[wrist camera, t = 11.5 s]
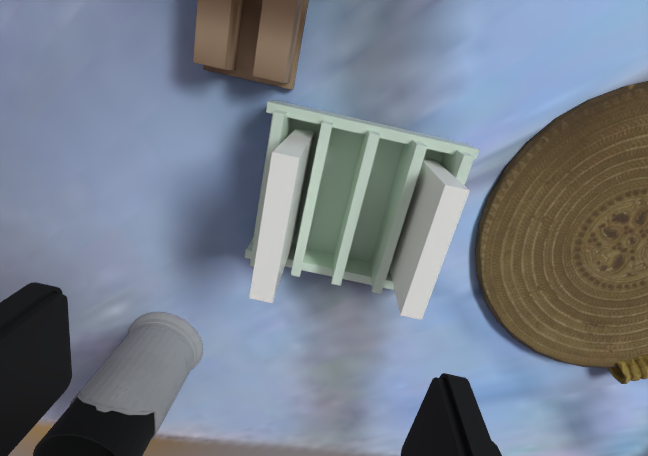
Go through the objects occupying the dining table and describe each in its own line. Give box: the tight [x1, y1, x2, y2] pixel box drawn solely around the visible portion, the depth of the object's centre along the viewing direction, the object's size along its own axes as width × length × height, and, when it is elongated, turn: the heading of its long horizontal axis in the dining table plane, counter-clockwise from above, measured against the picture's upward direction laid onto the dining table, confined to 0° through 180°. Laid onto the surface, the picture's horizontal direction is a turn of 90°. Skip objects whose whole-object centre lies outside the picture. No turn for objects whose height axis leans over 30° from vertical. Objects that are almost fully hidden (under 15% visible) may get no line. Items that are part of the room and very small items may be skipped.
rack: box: [245, 100, 479, 320], centre depth 31 cm, size 14×17×11 cm
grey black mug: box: [33, 312, 203, 456], centre depth 38 cm, size 9×14×15 cm, turn 163°
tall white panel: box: [249, 127, 315, 303], centre depth 29 cm, size 10×2×12 cm, turn 168°
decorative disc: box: [475, 81, 648, 384], centre depth 35 cm, size 29×3×30 cm
